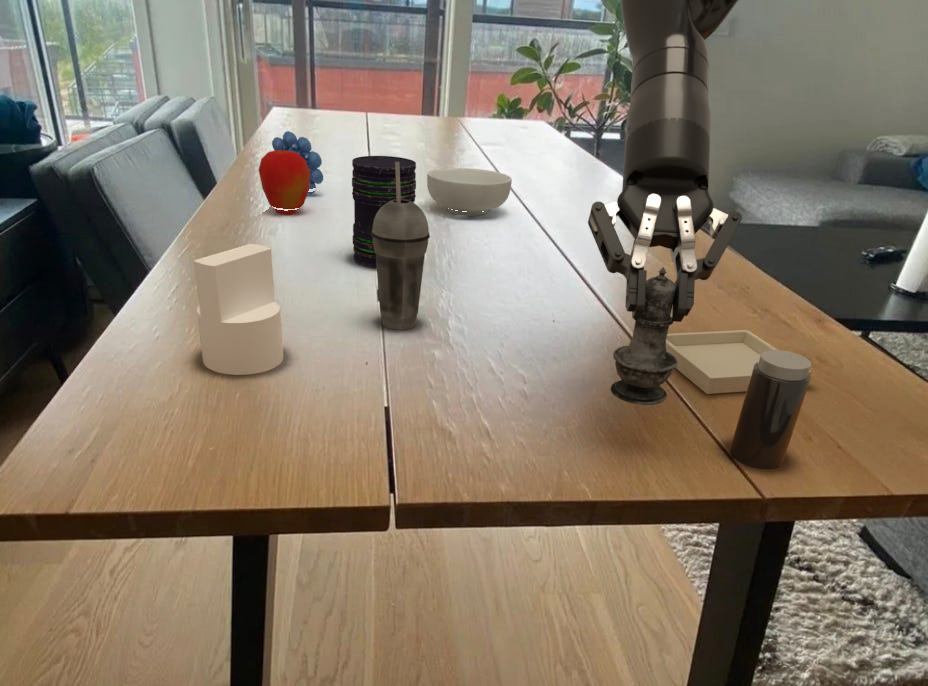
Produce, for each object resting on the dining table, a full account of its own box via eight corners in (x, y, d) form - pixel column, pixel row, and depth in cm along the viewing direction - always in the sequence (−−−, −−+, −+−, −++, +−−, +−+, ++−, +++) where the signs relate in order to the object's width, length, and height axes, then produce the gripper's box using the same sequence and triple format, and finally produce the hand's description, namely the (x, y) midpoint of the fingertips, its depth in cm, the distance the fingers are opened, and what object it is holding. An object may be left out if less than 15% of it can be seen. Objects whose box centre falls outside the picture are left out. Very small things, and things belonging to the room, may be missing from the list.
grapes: (262, 195, 158) (258, 132, 152) (277, 188, 164) (273, 127, 157) (315, 201, 156) (313, 137, 149) (328, 194, 161) (326, 132, 155)
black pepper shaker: (763, 441, 78) (792, 347, 72) (793, 466, 74) (827, 368, 68) (719, 444, 77) (746, 349, 71) (748, 470, 73) (778, 371, 67)
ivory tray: (743, 344, 101) (747, 329, 99) (806, 387, 90) (811, 371, 89) (652, 348, 97) (655, 334, 96) (706, 394, 87) (710, 378, 86)
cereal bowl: (525, 215, 155) (529, 178, 151) (464, 225, 145) (466, 186, 141) (470, 198, 165) (472, 163, 162) (409, 207, 156) (410, 170, 152)
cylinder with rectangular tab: (242, 337, 93) (232, 238, 87) (299, 355, 90) (294, 253, 83) (185, 361, 87) (170, 255, 80) (245, 381, 83) (234, 272, 77)
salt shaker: (596, 382, 74) (616, 259, 68) (649, 376, 76) (674, 256, 70) (626, 409, 70) (651, 279, 63) (682, 403, 71) (712, 276, 65)
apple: (320, 212, 148) (318, 145, 142) (289, 221, 141) (285, 151, 135) (283, 204, 152) (279, 139, 146) (252, 212, 145) (246, 144, 139)
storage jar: (425, 265, 123) (428, 166, 115) (370, 272, 118) (370, 169, 110) (395, 248, 130) (397, 154, 122) (342, 254, 125) (340, 157, 117)
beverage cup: (435, 320, 102) (443, 160, 91) (411, 338, 96) (416, 169, 86) (387, 309, 104) (389, 152, 94) (360, 326, 99) (359, 161, 88)
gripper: (596, 109, 67) (583, 290, 63) (759, 119, 66) (756, 303, 62) (584, 163, 74) (572, 328, 71) (731, 173, 74) (727, 340, 70)
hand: (659, 315), depth 67 cm, fingers closed on salt shaker, 3 cm apart
